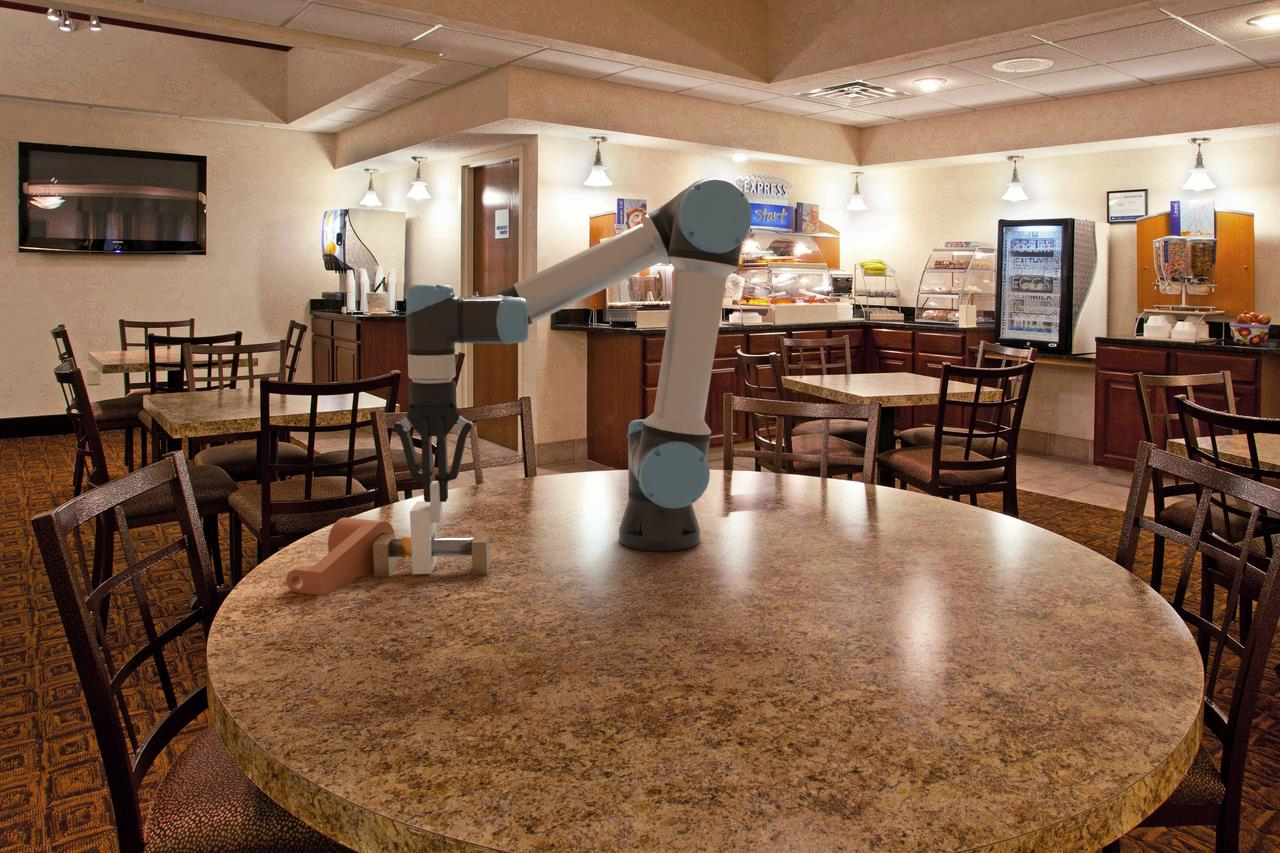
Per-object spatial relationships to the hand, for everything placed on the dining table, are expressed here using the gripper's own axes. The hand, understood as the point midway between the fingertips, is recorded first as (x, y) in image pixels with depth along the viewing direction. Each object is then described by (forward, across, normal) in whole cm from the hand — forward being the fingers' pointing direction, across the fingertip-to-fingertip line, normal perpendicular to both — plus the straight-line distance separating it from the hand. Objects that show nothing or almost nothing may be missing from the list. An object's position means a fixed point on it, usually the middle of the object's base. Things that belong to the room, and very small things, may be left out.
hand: (436, 520), depth 155 cm
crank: (+9, +16, +1) cm, 18 cm away
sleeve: (+9, +2, 0) cm, 9 cm away
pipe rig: (+9, +1, 0) cm, 9 cm away
